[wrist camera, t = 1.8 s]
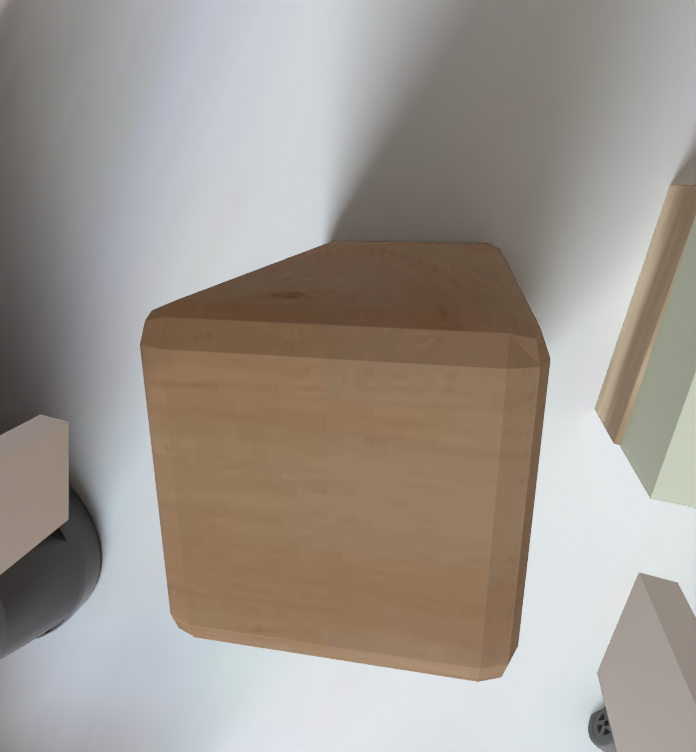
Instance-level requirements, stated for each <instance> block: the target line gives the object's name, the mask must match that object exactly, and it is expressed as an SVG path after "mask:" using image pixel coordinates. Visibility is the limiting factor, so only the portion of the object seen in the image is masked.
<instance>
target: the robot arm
mask: <svg viewBox="0 0 696 752" xmlns="http://www.w3.org/2000/svg"><path fill="white" fill-rule="evenodd" d="M100 564H101V556H100V547H99V542H98V538H97V534H96V531H95V528H94V526H93V523H92V521H91V519H90V517H89V515H88V513H87V511H86V509H85V508H84V506H83V504H82V503H81V501H80V500H79V498H78V497H77V496H76V494H75V493H74V492H73V491H72V490H71V488H70V487H69V422H68V421H64V420H60V419H56V418H52V417H49V416H45V415H41V414H40V415H38V416H36V417H34V418H32V419H31V420H29V421H27V422H25V423H23V424H21V425H19V426H17V427H15V428H13V429H11V430H9V431H7V432H5V433H4V434H2V435H0V659H2V658H4V657H5V656H7V655H9V654H11V653H12V652H14V651H16V650H17V649H19V648H21V647H23V646H24V645H26V644H27V643H29V642H31V641H32V640H34V639H36V638H39V637H42V636H44V635H46V634H48V633H50V632H52V631H54V630H56V629H57V628H59V627H60V626H62V625H63V624H64V623H65V622H66V621H68V620H69V619H70V618H71V617H72V615H73V614H74V613H75V612H76V611H77V610H78V609H79V608H80V607H81V606H82V605H83V604H84V603H85V602H86V601H87V599H88V598H89V597H90V595H91V594H92V592H93V590H94V588H95V586H96V584H97V581H98V577H99V573H100ZM597 675H598V679H599V683H600V687H601V691H602V695H603V699H604V703H605V707H606V710H607V714H608V718H609V722H610V726H611V730H612V734H613V738H614V742H615V746H616V750H617V752H696V617H695V616H694V614H693V612H692V610H691V608H690V606H689V604H688V602H687V600H686V598H685V596H684V594H683V592H682V590H681V588H680V586H679V584H678V583H677V582H673V581H669V580H665V579H662V578H658V577H654V576H650V575H646V574H643V573H639V574H638V576H637V578H636V581H635V583H634V586H633V588H632V590H631V593H630V595H629V598H628V600H627V602H626V605H625V607H624V610H623V612H622V614H621V617H620V619H619V622H618V624H617V626H616V629H615V631H614V633H613V636H612V638H611V641H610V643H609V645H608V648H607V650H606V653H605V655H604V657H603V660H602V662H601V665H600V667H599V669H598V672H597Z"/></svg>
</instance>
